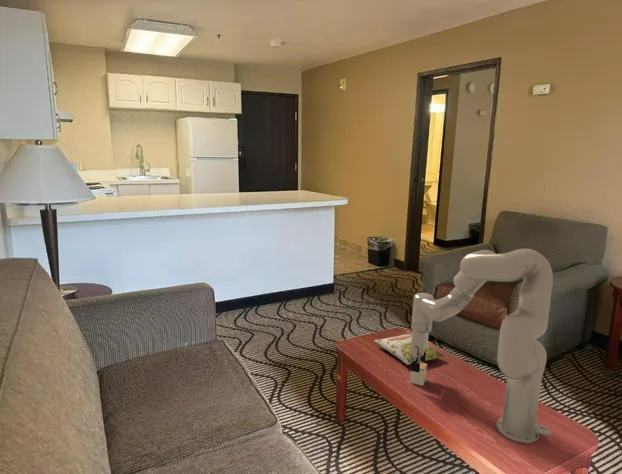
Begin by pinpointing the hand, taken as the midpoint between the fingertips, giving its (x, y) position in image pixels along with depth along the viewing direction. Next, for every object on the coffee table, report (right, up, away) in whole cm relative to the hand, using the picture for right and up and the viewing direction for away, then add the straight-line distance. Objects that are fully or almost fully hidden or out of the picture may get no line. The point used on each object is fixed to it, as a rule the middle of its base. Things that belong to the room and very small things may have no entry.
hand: (418, 365), depth 166 cm
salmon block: (0, -6, +1) cm, 7 cm away
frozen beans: (+1, -2, +24) cm, 24 cm away
